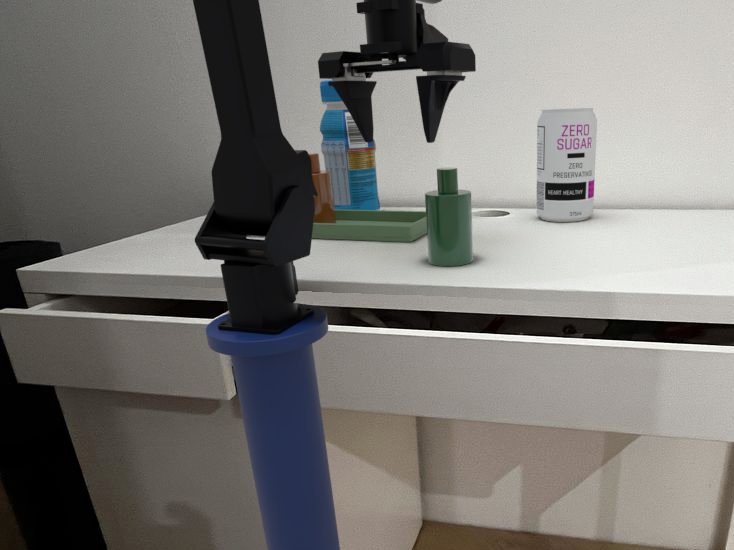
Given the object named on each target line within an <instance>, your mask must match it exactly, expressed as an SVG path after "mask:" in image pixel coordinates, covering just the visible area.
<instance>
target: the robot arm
mask: <svg viewBox="0 0 734 550" xmlns="http://www.w3.org/2000/svg"><path fill="white" fill-rule="evenodd" d="M442 1H443V0H363V1H359V2H356V3H355V4H356V13H357V14H359V15H364V21H365V23H364V24H365V35H366V43H363V44H359V51H347V50H342V51H341V50H340V51H330V52H322V53H321V55H320V57H319V59H318V60H317V68H318V76H319V79H320V80H323V79H324V80H332V81H329V82H328V86H333V87H334V89H335V90H336V92H337V93H338V95H339V96H340V98H341V100H342V101H343V103H344V104H345V106H346V107H347V109H348V111H349V113H350V114H351V116H352V118H353V120H354V122H355V124H356V126H357V127H358V129H359V131H360V133H361V135H362V137H363V139H364V140H365V142H367V143H369V142H373V139H374V118H373V117H374V116H373V115H374V114H373V100H372V97H373V96H372V95H373V94H374V93H373V92H374V91H375V88H376V86H377V81H376V80H367V79H371V78H372V76H373V74H374V73H384V72H385V73H386V72H402V71H417V70H421V71H422V72H426V75H415V79H416V80H415V81H416V89H417V93H418V101H419V106H420V115H421V122H422V127H423V132H424V136H425V140H426V142H427V144H433V143H435V142H436V138H437V135H438V131H439V128H440V124H441V121H442V117H443V114H444V110H445V106H446V105H447V102H448V99H449V96H450V94H451V92H452V90H454V88H455V87H456V86H457V85H458V83H459V82H465V80H466V75H463V73H474V72H476V71H477V69H476V67H477V66H476V64H477V63H476V54H475V51H474V50H473V48H472V46H471V45H470V43H464V42H455V41H449V38H448V36H446V35H445V34H444V33H442V32H441V31H440V30H439V29H438V28H436V27H435V26H434V25H432V24H430V23H428V22H427V19H426V16H425V15H426V13H425V8H424V5H423V3H424V4H430V5H435V4H438V3H441V2H442ZM420 2H421V3H420ZM192 3H193V8H194V12H195V18H196V22H197V27H198V31H199V36H200V41H201V45H202V50H203V56H204V60H205V63H206V69H207V74H208V80H209V84H210V89H211V92H212V97H213V102H214V106H215V111H216V116H217V121H218V126H219V131H220V142H219V144H218V149H217V152H216V154H215V158H214V161H213V164H212V168H211V185H212V193H213V203H212V204H211V206H210V207H209V209H208V212H207V213H206V216H205V218H204V220H203V221H202V224H201V226H200V227H199V229H198V232H197V233H196V235H195V237H194V243H195V245H196V247H197V249H198V251H199V252H200V255H201V257H202V258H203V260H208V261H210V260H216V261H223V263H221V264H220V265H219V267H220V271H221V276H222V283H223V287H224V292H225V298H226V303H227V309H228V313H229V314H230V318H229V319H227V320H225V321H223V322H221V323H219V324H218V325H217V326H218V330H224V331H235V332H246V333H256V334H267V335H278V334H281V333H282V332H284V331H286V330H287V329H289V328H291V327H292V326H294V325H296V324H297V323H299V322H301V321H302V320H304V319H306V318H307V317H309V316H311V315H312V314H314V309H313V308H305V307H299V305H300V304H301V303H300V302H296V301H297V295H298V293H299V286H298V279H297V271H296V266H295V265H294V262H295V261H298V260H301V259H304V258H306V257H309V256H310V255H311V249H312V241H313V238H312V231H313V222H314V215H315V201H314V196H316V197H317V196H318V193H317V191H316V188H315V186H314V182H313V178H312V164H311V158H310V156H309V154H308V153H309V152H308V151H307V150H306V149H294V147H293V146H292V145H291V144H290V142H289V141H288V139H287V137H286V136H285V135H284V133H283V130H282V127H281V121H280V116H279V111H278V110H279V109H278V104H277V98H276V92H275V87H274V82H273V74H272V70H271V64H270V57H269V53H268V52H269V51H268V46H267V40H266V35H265V34H266V33H265V30H264V22H263V17H262V12H261V11H262V10H261V5H260V0H192ZM400 59H402V61H401V60H400ZM247 237H254V238H247ZM258 238H264V239H258Z"/></svg>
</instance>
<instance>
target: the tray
mask: <svg viewBox="0 0 734 550" xmlns="http://www.w3.org/2000/svg"><path fill="white" fill-rule="evenodd" d="M335 214H336V223H337V224H334V223H313V231H312V239H317V240H318V239H320V240H342V241H343V240H346V241H347V240H348V241H370V242H371V241H373V242H374V241H375V242H397V243H399V242H401V243H412V242H413V241H415V240H417V239H419V238H421V237H423V236H424V235H427V223H426V210H388V209H387V210H386V209H385V210H384V209H383V210H382V209H380V210H341V209H335Z"/></svg>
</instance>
